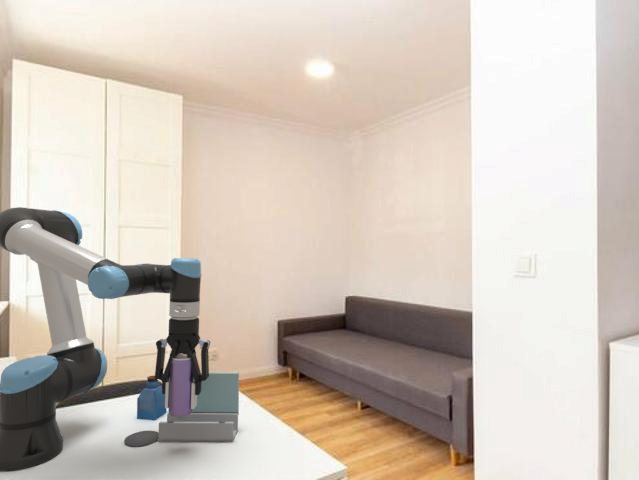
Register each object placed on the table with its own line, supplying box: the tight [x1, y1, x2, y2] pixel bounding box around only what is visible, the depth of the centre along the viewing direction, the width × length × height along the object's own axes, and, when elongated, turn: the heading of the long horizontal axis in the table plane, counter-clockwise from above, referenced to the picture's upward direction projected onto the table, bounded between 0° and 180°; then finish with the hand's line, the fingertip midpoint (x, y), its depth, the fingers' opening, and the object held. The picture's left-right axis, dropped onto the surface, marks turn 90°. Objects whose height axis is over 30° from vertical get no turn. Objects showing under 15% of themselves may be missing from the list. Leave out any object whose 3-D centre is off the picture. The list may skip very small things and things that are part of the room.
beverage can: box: [168, 353, 194, 418], centre depth 106 cm, size 6×6×15 cm
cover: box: [169, 372, 240, 416], centre depth 117 cm, size 20×12×1 cm
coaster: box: [123, 430, 159, 448], centre depth 111 cm, size 9×9×1 cm
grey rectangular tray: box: [158, 412, 239, 443], centre depth 113 cm, size 20×7×5 cm, turn 90°
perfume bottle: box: [136, 375, 168, 421], centre depth 127 cm, size 6×6×12 cm
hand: (181, 406), depth 106 cm, fingers closed on beverage can, 6 cm apart
